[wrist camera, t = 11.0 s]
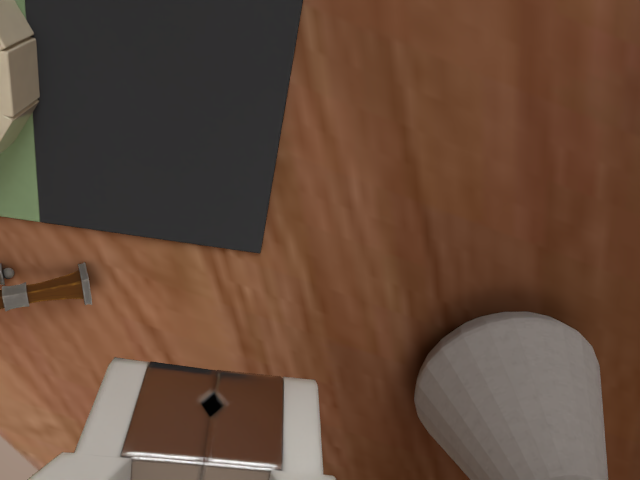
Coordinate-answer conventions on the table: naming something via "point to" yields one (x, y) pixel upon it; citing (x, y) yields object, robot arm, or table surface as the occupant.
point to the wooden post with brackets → (45, 289)
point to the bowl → (16, 72)
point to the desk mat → (154, 118)
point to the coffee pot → (515, 399)
